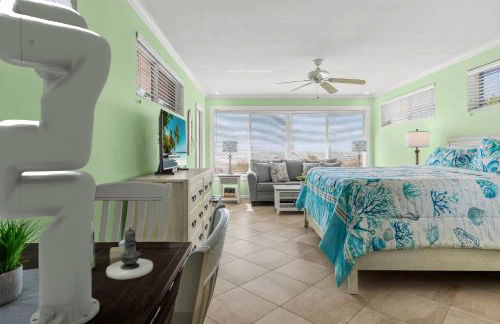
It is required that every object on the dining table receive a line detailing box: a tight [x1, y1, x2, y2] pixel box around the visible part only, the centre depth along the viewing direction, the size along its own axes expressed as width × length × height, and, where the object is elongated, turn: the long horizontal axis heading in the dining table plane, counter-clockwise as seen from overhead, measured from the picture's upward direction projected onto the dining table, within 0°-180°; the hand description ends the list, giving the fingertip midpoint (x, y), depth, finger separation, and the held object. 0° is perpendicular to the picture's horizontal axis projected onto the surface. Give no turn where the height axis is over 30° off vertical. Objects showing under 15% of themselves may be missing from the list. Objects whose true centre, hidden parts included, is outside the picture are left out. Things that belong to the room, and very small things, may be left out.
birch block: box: [109, 246, 124, 265], centre depth 95 cm, size 4×4×4 cm
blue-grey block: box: [118, 239, 125, 250], centre depth 103 cm, size 4×4×4 cm
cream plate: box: [105, 258, 154, 280], centre depth 88 cm, size 13×13×1 cm
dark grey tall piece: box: [120, 226, 141, 270], centre depth 87 cm, size 6×6×12 cm
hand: (58, 159), depth 89 cm, fingers open, 9 cm apart
